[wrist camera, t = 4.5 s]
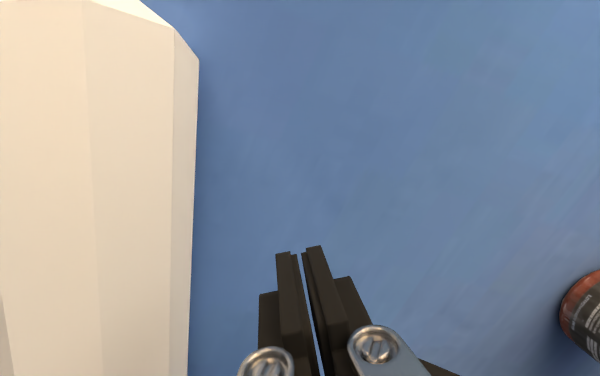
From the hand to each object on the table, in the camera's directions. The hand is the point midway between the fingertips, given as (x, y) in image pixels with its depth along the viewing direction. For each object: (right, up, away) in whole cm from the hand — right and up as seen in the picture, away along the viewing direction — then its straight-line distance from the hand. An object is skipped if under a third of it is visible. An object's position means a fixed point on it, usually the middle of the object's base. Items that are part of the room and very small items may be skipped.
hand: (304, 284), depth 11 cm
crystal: (-9, 0, +5) cm, 11 cm away
